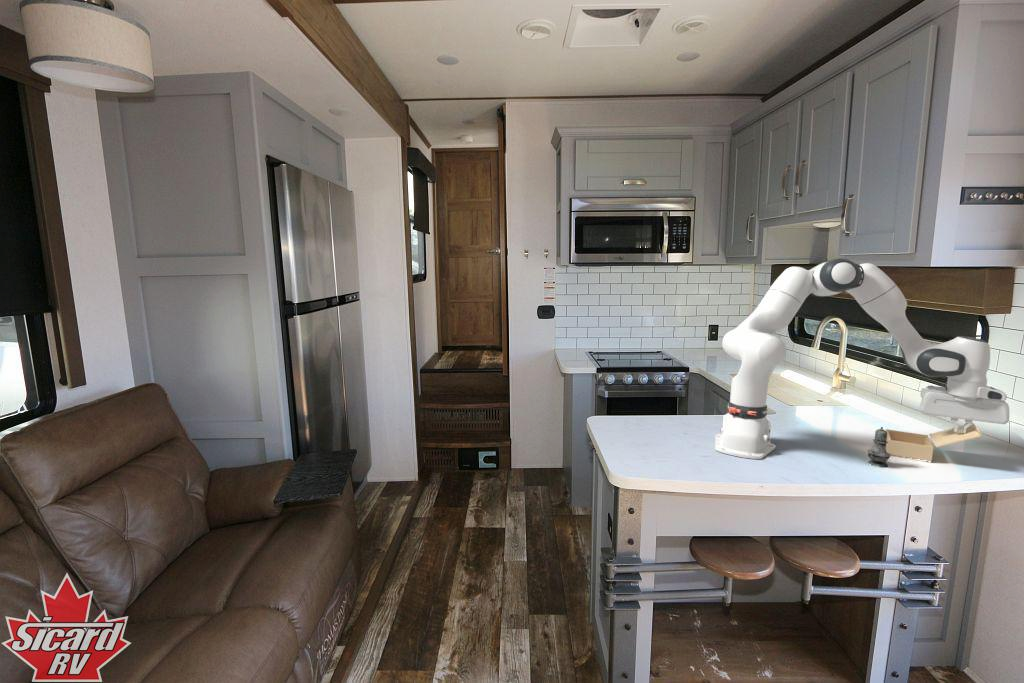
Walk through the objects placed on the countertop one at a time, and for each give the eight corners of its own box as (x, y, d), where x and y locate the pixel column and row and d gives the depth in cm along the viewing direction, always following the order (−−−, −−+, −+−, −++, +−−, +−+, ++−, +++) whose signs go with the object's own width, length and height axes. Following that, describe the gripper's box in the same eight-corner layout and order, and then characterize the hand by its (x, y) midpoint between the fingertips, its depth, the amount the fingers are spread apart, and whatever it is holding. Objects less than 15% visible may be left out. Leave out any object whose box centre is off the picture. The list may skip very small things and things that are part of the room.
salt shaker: (884, 469, 145) (889, 430, 143) (862, 462, 150) (866, 425, 148) (893, 465, 148) (897, 427, 146) (870, 459, 153) (875, 422, 151)
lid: (934, 443, 150) (936, 447, 149) (980, 432, 143) (983, 436, 143) (927, 431, 161) (929, 435, 161) (970, 420, 155) (973, 424, 154)
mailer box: (931, 462, 150) (933, 446, 150) (887, 454, 157) (888, 439, 156) (925, 449, 162) (927, 434, 161) (884, 442, 168) (885, 428, 167)
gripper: (923, 386, 152) (917, 428, 153) (1014, 396, 140) (1007, 441, 142) (920, 382, 157) (915, 423, 159) (1008, 391, 145) (1001, 435, 147)
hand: (959, 432), depth 150 cm, fingers closed
